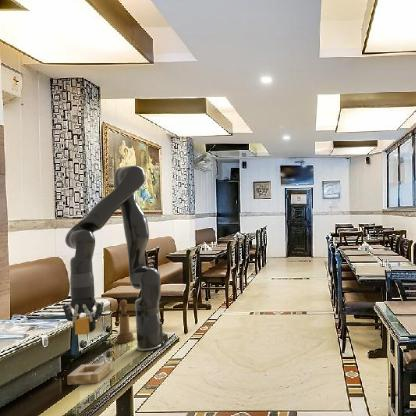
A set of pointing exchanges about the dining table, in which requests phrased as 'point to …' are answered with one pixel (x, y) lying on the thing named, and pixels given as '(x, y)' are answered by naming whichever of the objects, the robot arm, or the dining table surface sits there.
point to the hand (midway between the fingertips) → (84, 331)
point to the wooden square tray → (88, 373)
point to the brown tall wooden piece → (124, 325)
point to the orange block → (82, 326)
